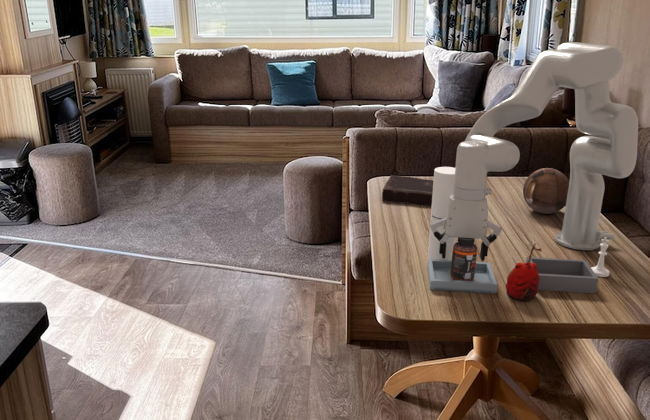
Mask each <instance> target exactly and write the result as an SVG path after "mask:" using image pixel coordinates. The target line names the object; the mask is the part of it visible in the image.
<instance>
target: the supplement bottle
mask: <svg viewBox="0 0 650 420" xmlns="http://www.w3.org/2000/svg"><path fill="white" fill-rule="evenodd" d="M477 255H478V247H477V245H476V244H475V238H457V241H456V243H455V244H454V246H453V253H452V263H451V277H452V279H454V280H459V281H472V280H473V279H474V274H475V265H476V262H477Z"/></svg>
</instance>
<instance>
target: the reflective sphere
mask: <svg viewBox="0 0 650 420" xmlns="http://www.w3.org/2000/svg"><path fill="white" fill-rule="evenodd" d="M569 181H570V179H568V177H567V176H566V175H565V174H564V173H563V172H561V171H559V170H557V169H554V168H552V167H551V168H549V167H545V168H539V169H537V170H535V171H533V172H532V173H531V174H530V175H529V176H528V177H527V178H526V179H525V181H524V184H523V189H522V194H523V199H524V201H525V203H526V205H527V206H528V207H529V208H530V209H531V210H533V211H535V212H536V213H539V214H545V215H546V214H547V215H550V214H555V213H557V212H559V211H561V210H562V209H564V208H565V207H566V201H567V194H568V188H569Z"/></svg>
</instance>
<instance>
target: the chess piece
mask: <svg viewBox="0 0 650 420" xmlns="http://www.w3.org/2000/svg"><path fill="white" fill-rule="evenodd" d="M600 241H601V244H600V247H599V248H600V251H598V255H599V258H598V261H597V265H595V266H592V267H591V266H590V267H591V269H592V270H593V271H594V273H595V274H596V276H597V277H598V278H599V277H601V278H607V277H609V276H610V270H609V269H607V268H606V267H605V256H607V255H608V253H607V252H606V251H607V249H608V248H609V244H608V243H609V242H610V240H606V237H605V238H604V239H602V240H600Z"/></svg>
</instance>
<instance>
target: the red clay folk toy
mask: <svg viewBox="0 0 650 420" xmlns="http://www.w3.org/2000/svg"><path fill="white" fill-rule="evenodd" d="M528 245H529V246H530V247H531V249H530V254H529V255H528V257H529V260H528V261H527V263H526V262H517V263H516V264H515V265H514V268H512V269H511V271H510V272H509V273H508V275H507V276H506V283H505V289H506V290H505V291H506V294H508V296H510V297H511V298H512V299H515V300H518V301H528V302H529V301H530V300H532V299H534V298H535V297H536V296H537V294H538V292H539V290H538V286H539V280H540V278H539V274H540V273H538V270H537V265H536V264H535V263H530V259H531V257H532V255H533V252H534V251H537V252H540V253H541V252H542V247H540V248H537V247H536V245H537V243H534V244H533V246H532V244H531V243H529V244H528Z"/></svg>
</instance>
